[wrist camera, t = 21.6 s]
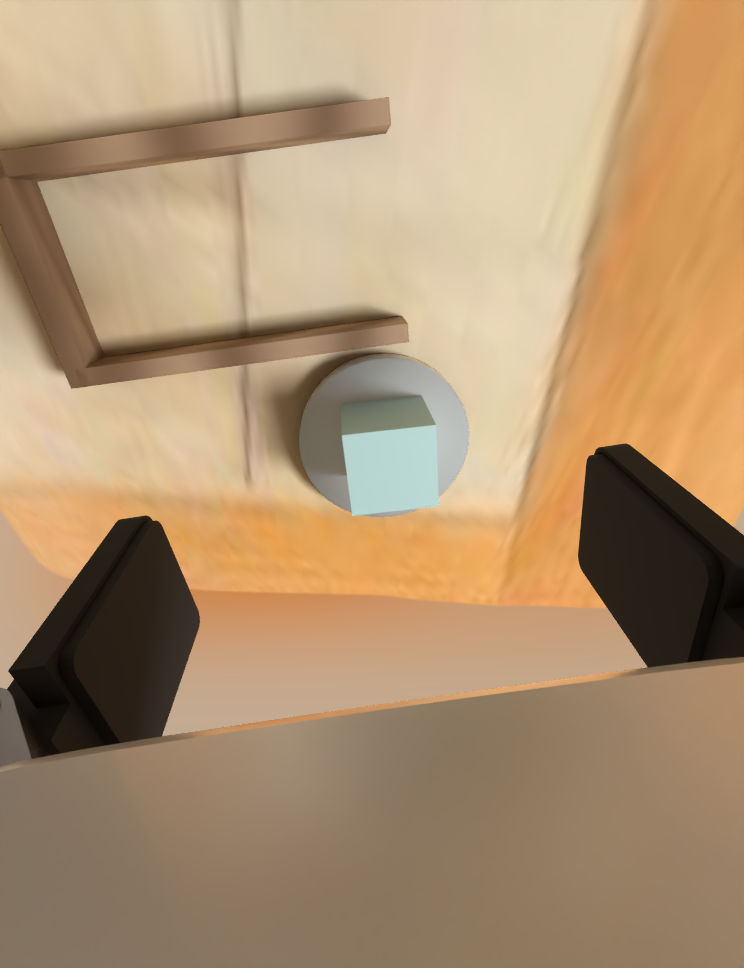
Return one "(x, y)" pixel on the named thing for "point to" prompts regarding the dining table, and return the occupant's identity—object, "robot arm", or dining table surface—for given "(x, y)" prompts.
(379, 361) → the grey round disc
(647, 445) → the dining table surface
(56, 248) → the frame
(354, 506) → the teal cube
